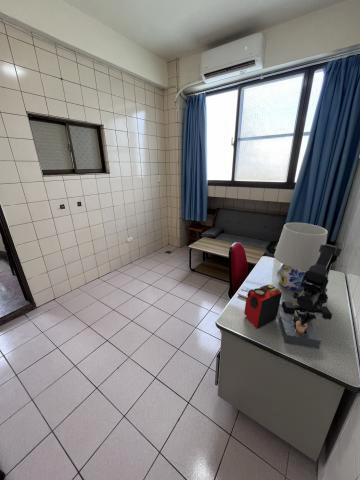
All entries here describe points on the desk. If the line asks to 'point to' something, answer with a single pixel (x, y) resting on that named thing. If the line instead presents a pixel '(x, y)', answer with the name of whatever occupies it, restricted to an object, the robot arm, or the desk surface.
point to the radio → (262, 305)
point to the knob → (300, 327)
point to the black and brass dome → (296, 318)
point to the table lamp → (298, 252)
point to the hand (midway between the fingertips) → (301, 324)
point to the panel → (295, 338)
